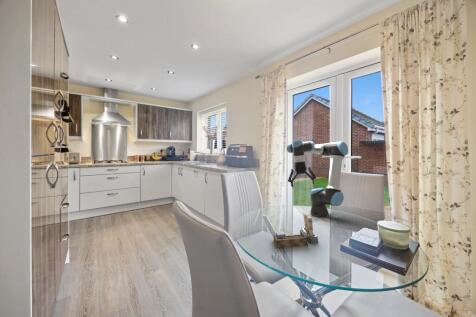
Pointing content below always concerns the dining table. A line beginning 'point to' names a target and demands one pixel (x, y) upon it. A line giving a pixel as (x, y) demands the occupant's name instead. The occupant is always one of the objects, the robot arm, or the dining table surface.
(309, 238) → the stand
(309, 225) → the beige flat slab
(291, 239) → the rack
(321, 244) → the dining table surface
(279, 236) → the offcut upper
